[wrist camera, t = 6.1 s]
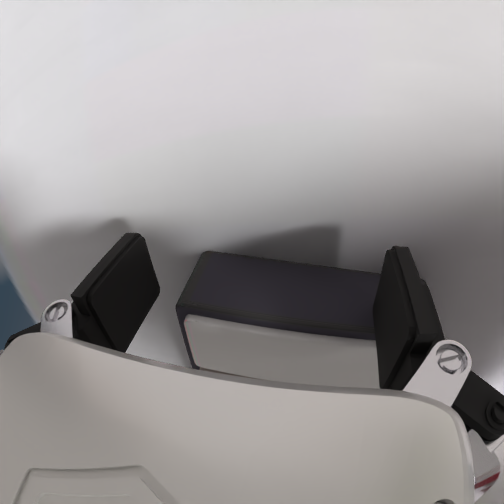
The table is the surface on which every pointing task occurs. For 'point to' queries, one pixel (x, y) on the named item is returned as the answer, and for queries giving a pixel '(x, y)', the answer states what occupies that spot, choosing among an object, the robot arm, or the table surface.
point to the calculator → (280, 321)
